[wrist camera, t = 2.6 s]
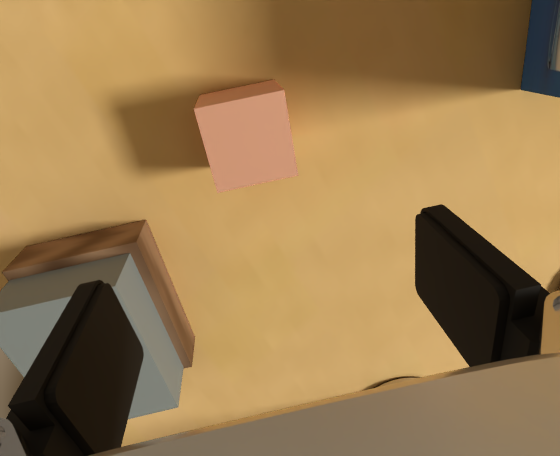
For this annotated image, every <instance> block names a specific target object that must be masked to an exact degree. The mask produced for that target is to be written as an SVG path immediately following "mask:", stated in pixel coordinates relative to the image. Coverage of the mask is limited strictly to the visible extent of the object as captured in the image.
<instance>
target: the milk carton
mask: <svg viewBox="0 0 560 456" xmlns="http://www.w3.org/2000/svg"><path fill="white" fill-rule="evenodd" d="M521 90H524V91H529V92H534V93H539V94H544V95H549V96H554V97H559V98H560V0H532V5H531V13H530V21H529V28H528V36H527V44H526V52H525V60H524V67H523V75H522V83H521Z"/></svg>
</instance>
